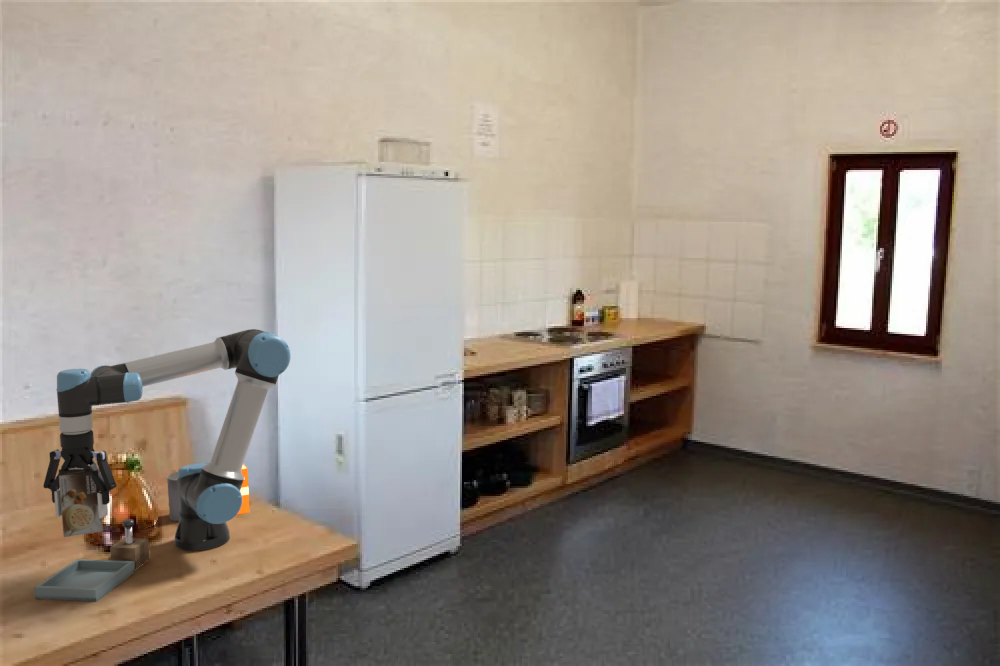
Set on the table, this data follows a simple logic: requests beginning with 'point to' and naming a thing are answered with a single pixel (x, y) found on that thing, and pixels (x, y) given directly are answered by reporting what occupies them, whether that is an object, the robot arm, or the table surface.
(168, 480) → the pillar candle
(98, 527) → the coffee box
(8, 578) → the table surface
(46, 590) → the tray
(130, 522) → the peg
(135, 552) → the walnut block
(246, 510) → the orange juice
